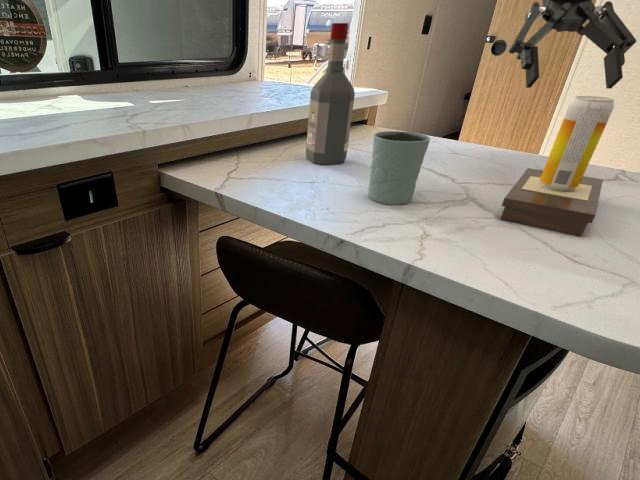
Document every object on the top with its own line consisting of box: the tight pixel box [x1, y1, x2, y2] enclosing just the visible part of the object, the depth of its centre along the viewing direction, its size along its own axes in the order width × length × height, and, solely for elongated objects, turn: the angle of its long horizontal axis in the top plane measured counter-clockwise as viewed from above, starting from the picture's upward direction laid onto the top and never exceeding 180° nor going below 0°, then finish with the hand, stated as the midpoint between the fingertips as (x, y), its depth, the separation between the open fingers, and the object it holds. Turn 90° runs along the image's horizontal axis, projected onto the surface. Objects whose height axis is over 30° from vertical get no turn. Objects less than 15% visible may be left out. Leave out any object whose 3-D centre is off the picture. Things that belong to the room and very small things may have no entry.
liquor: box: [305, 22, 356, 166], centre depth 101 cm, size 9×9×30 cm
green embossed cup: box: [367, 130, 431, 206], centre depth 81 cm, size 10×10×12 cm
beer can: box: [540, 95, 615, 191], centre depth 73 cm, size 6×6×15 cm
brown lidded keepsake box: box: [500, 167, 604, 237], centre depth 78 cm, size 24×13×4 cm, turn 141°
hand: (573, 83), depth 75 cm, fingers open, 13 cm apart
